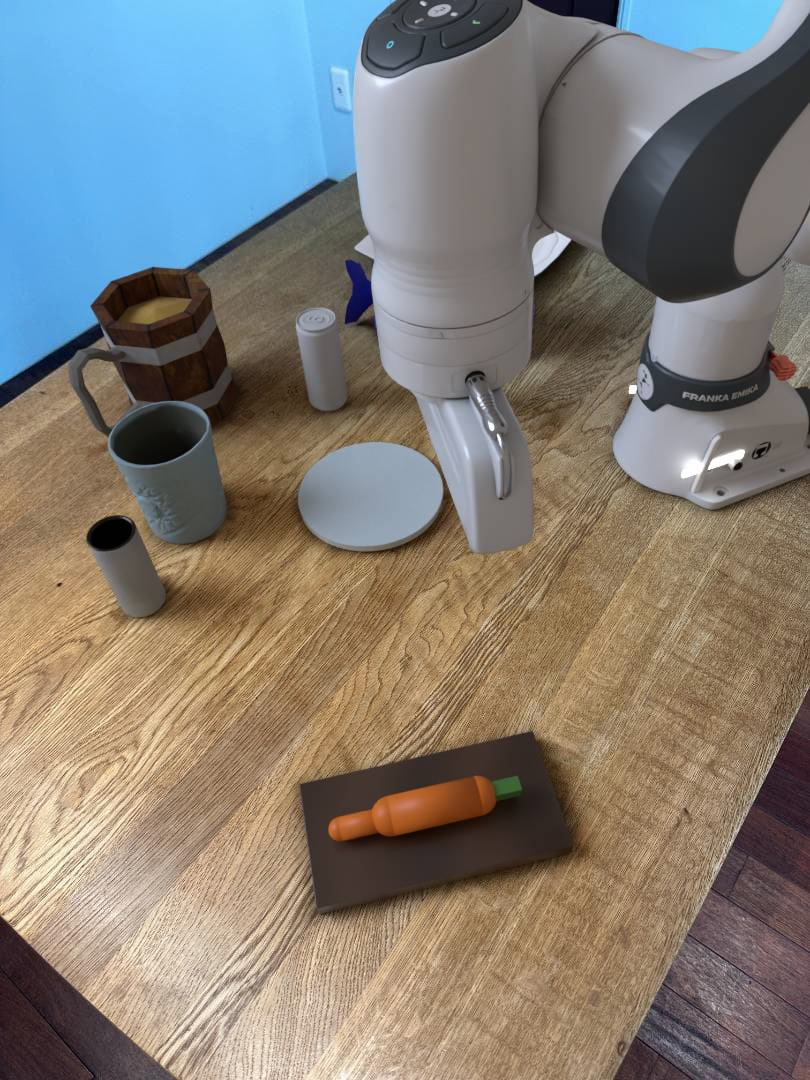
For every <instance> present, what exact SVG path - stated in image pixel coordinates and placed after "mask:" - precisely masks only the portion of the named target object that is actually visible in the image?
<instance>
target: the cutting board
mask: <svg viewBox="0 0 810 1080" xmlns="http://www.w3.org/2000/svg"><path fill="white" fill-rule="evenodd" d="M472 776H482V777H485V778H487V779H488V780H490V781H491V782H493V781H497V780H501V779H506V778H510V777H514V776H518V778H519V781H520V784H521V787H522V794H521V796H517V797H512V798H508V799H504V800H499V801H496V804H495V806H494V808H493V809H492V810H491V811H490V812H489V813H487V814H485V815H482V816H478V817H474V818H469V819H465V820H461V821H457V822H452V823H448V824H444V825H440V826H435V827H431V828H427V829H423V830H418V831H414V832H410V833H406V834H401V835H397V836H391V837H390V836H384V835H382V834H380V833H375V834H371V835H367V836H362V837H358V838H354V839H350V840H345V841H335V840H333V839H332V838H331V837H330V835H329V831H328V828H329V824H330V822H331V821H332V820H333V819H335V818H337V817H340V816H345V815H349V814H353V813H358V812H362V811H366V810H371V809H373V807H374V805H375V803H376V802H377V801H378V800H379V799H381V798H383V797H385V796H389V795H394V794H398V793H402V792H407V791H411V790H415V789H420V788H424V787H429V786H433V785H437V784H442V783H446V782H450V781H455V780H459V779H463V778H468V777H472ZM298 786H299V793H300V801H301V809H302V815H303V823H304V829H305V836H306V843H307V852H308V859H309V865H310V866H309V867H310V873H311V879H312V886H313V887H312V888H313V894H314V901H315V908H316V911H317V913H318V915H323V914H327V913H332V912H336V911H340V910H343V909H348V908H352V907H357V906H360V905H363V904H364V905H365V904H368V903H372V902H377V901H382V900H384V899H389V898H392V897H396V896H397V897H398V896H400V895H405V894H408V893H409V894H410V893H413V892H418V891H421V890H425V889H429V888H433V887H438V886H442V885H446V884H450V883H453V882H458V881H462V880H467V879H470V878H474V877H479V876H483V875H487V874H491V873H494V872H498V871H502V870H507V869H511V868H515V867H519V866H524V865H528V864H531V863H535V862H540V861H544V860H547V859H552V858H556V857H560V856H564V855H568V854H572V853H573V851H574V846H575V844H574V842H573V840H572V835H571V833H570V831H569V828H568V825H567V822H566V820H565V816H564V814H563V811H562V808H561V806H560V803H559V800H558V798H557V794H556V791H555V788H554V786H553V783H552V780H551V777H550V774H549V772H548V769H547V767H546V764H545V761H544V758H543V756H542V753H541V750H540V747H539V744H538V741H537V739H536V735H535V733H534V731H533V730H530V731H527V732H526V731H525V732H522V733H518V734H512V735H508V736H504V737H500V738H496V739H492V740H487V741H482V742H478V743H473V744H469V745H465V746H460V747H456V748H451V749H447V750H443V751H438V752H434V753H429V754H424V755H420V756H417V757H416V756H415V757H412V758H409V759H408V758H407V759H403V760H399V761H393V762H389V763H387V764H381V765H377V766H373V767H372V766H371V767H367V768H363V769H360V770H355V771H351V772H347V773H342V774H337V775H333V776H328V777H326V778H320V779H316V780H315V779H314V780H311V781H307V782H303V783H299V785H298Z"/></svg>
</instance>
